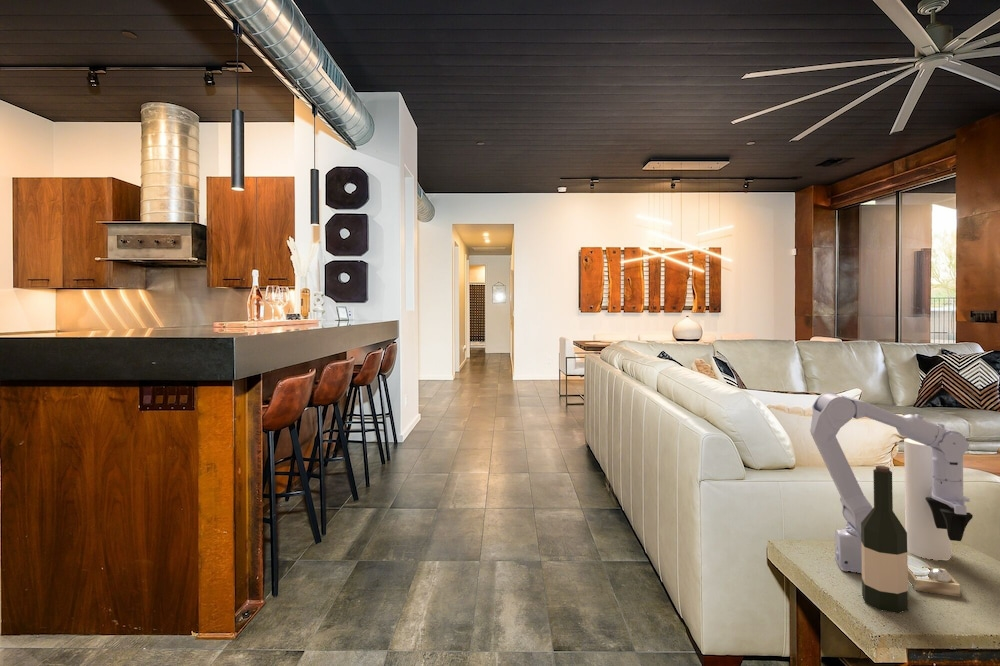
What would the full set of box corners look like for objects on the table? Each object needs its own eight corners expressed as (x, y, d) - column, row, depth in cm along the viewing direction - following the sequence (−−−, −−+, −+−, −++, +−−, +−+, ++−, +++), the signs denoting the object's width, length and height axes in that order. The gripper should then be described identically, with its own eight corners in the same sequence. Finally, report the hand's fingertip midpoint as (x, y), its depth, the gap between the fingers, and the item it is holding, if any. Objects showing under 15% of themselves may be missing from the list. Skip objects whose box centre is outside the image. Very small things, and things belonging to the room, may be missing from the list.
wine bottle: (853, 593, 121) (851, 462, 121) (890, 593, 121) (888, 462, 120) (878, 613, 113) (876, 472, 112) (918, 613, 112) (916, 472, 112)
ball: (931, 590, 121) (933, 576, 120) (924, 577, 125) (926, 563, 124) (953, 592, 120) (955, 578, 119) (944, 579, 124) (947, 565, 123)
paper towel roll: (959, 562, 135) (957, 444, 134) (915, 558, 138) (913, 443, 137) (939, 547, 144) (938, 436, 143) (899, 544, 147) (897, 435, 146)
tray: (915, 590, 122) (915, 579, 121) (903, 574, 129) (903, 564, 129) (960, 596, 119) (960, 585, 118) (944, 579, 126) (944, 569, 126)
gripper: (982, 488, 120) (983, 548, 120) (955, 471, 134) (955, 525, 134) (944, 485, 123) (945, 544, 123) (920, 469, 136) (921, 522, 136)
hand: (948, 534), depth 128 cm, fingers open, 7 cm apart
